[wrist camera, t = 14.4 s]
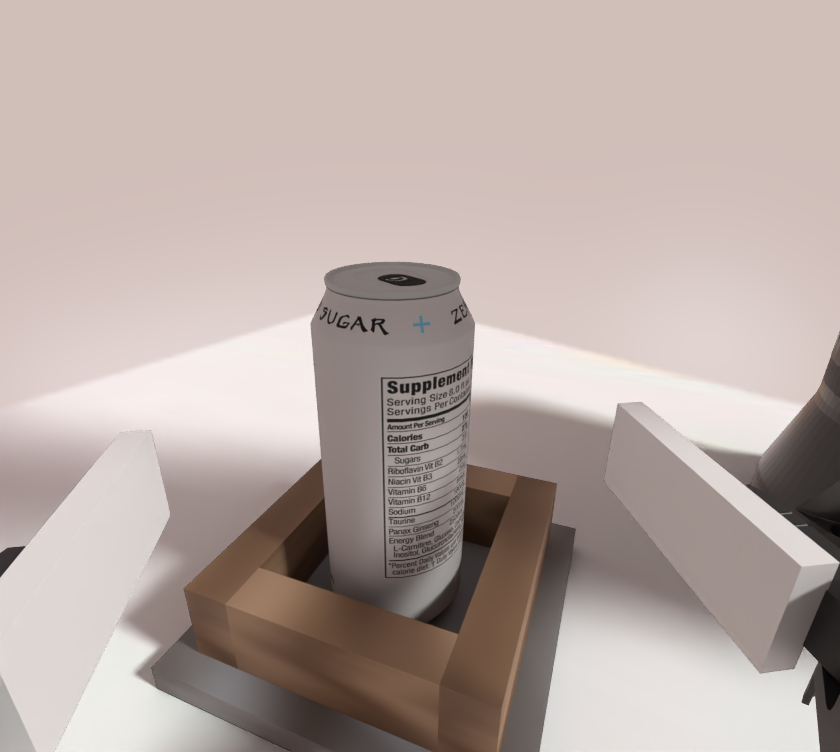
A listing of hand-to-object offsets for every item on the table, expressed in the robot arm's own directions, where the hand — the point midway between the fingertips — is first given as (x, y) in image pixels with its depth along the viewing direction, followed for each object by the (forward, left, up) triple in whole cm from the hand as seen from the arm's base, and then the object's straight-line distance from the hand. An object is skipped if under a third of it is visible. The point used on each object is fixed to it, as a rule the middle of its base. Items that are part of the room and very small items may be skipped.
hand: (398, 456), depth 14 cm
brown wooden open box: (+2, -5, -12) cm, 14 cm away
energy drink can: (+3, -5, -11) cm, 13 cm away
